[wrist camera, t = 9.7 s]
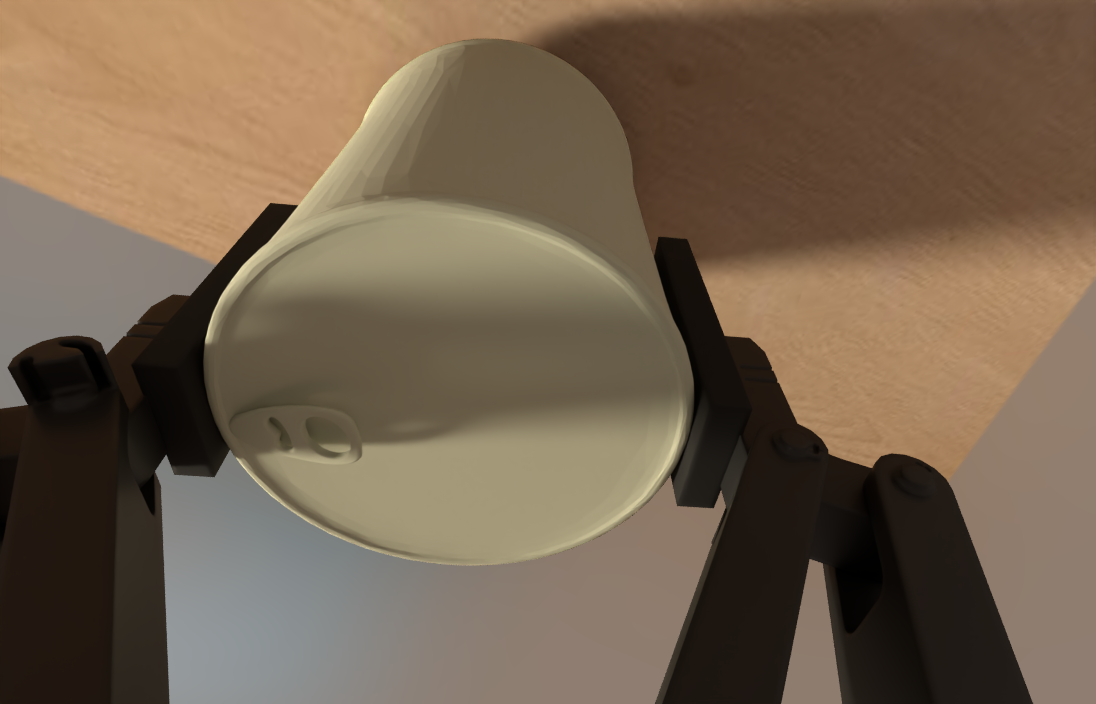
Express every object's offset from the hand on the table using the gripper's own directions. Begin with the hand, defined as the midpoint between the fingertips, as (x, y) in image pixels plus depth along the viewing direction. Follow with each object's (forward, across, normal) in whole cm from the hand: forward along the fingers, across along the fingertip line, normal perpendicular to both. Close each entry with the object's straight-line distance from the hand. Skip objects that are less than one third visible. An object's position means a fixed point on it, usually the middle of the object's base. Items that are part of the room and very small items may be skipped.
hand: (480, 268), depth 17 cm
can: (+6, 0, 0) cm, 6 cm away
